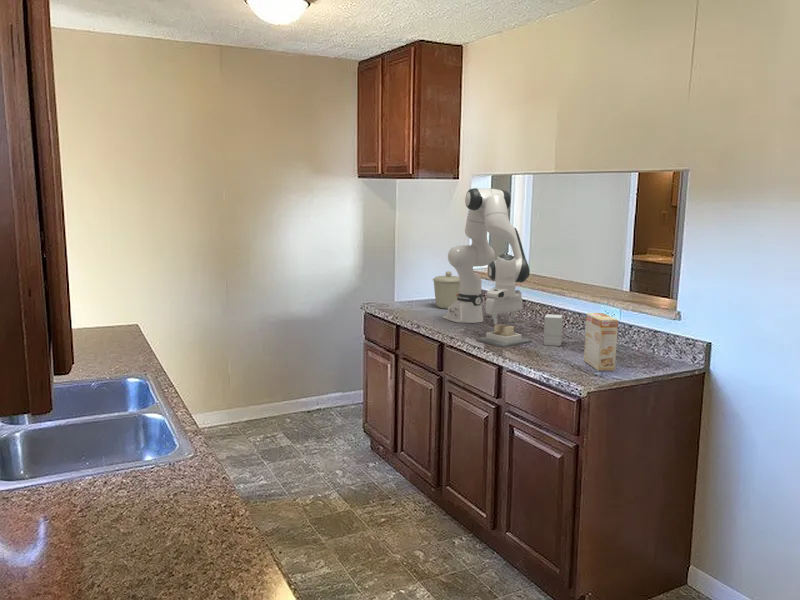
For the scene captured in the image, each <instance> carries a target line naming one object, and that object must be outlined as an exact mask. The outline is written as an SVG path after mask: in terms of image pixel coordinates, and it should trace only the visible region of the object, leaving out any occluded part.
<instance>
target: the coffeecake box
mask: <svg viewBox="0 0 800 600" xmlns="http://www.w3.org/2000/svg"><path fill="white" fill-rule="evenodd" d="M618 328H619V319H618V318H615V317H612V316H610V315H608V314H606V313H604V312H586V318H585V336H584V337H585V338H584V353H583V354H584V356H583V362H585V363H586V364H587V365H589V366H590V367H592V368H593V369H595V370H596V371H599V372H600V371H601V372H602V371H603V372H605V371H606V372H607V371H608V372H612V371H613V372H615V371H616V361H617V348H618V347H617V346H618V345H617V343H618V333H619V332H618V330H619V329H618Z"/></svg>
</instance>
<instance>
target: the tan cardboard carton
mask: <svg viewBox="0 0 800 600" xmlns="http://www.w3.org/2000/svg"><path fill="white" fill-rule="evenodd" d="M514 333H515V326H513V325H509V324H504V323H501V324H500V323H499V324H494V334H497V335H501V336H505V337H507V336H513V335H514Z"/></svg>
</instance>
